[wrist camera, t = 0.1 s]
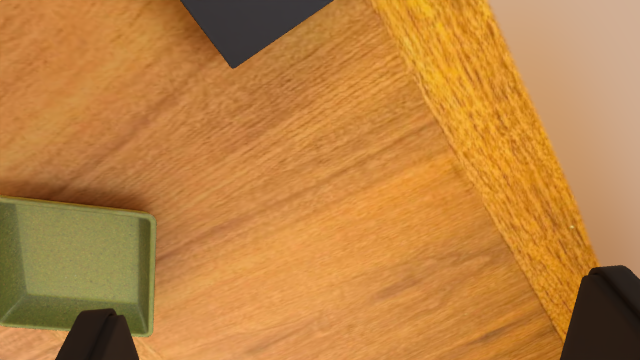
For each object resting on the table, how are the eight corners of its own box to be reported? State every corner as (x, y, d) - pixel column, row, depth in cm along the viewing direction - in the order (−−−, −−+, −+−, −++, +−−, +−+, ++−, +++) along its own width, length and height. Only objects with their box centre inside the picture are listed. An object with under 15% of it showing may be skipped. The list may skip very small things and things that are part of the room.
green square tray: (-7, 174, 25) (-30, 194, 23) (165, 195, 26) (156, 215, 25) (12, 300, 29) (-6, 326, 27) (160, 313, 30) (152, 338, 29)
